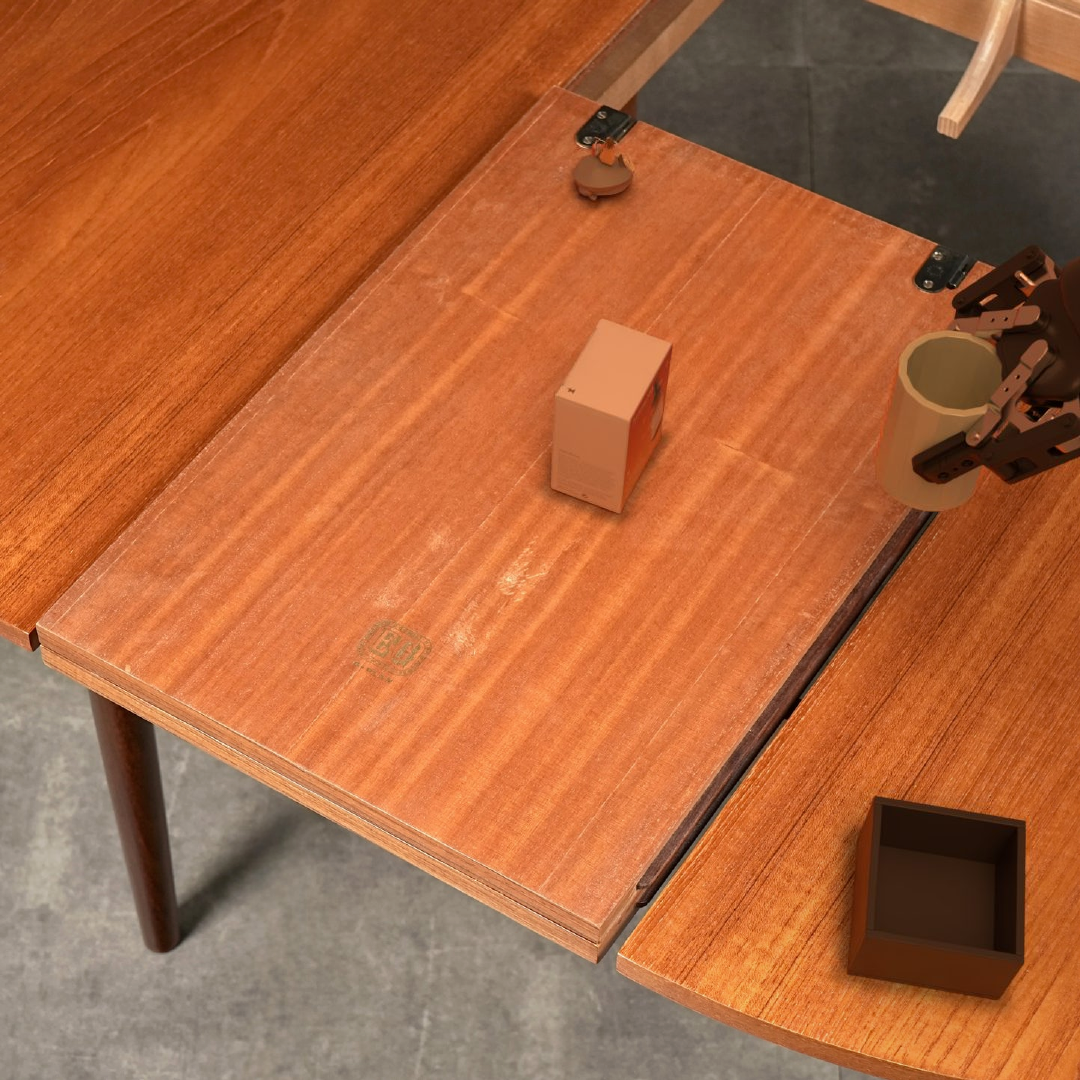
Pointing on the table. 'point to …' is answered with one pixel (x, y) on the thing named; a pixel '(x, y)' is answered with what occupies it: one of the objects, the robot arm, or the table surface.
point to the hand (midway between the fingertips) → (913, 424)
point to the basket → (939, 898)
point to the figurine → (603, 171)
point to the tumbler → (934, 414)
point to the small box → (609, 415)
